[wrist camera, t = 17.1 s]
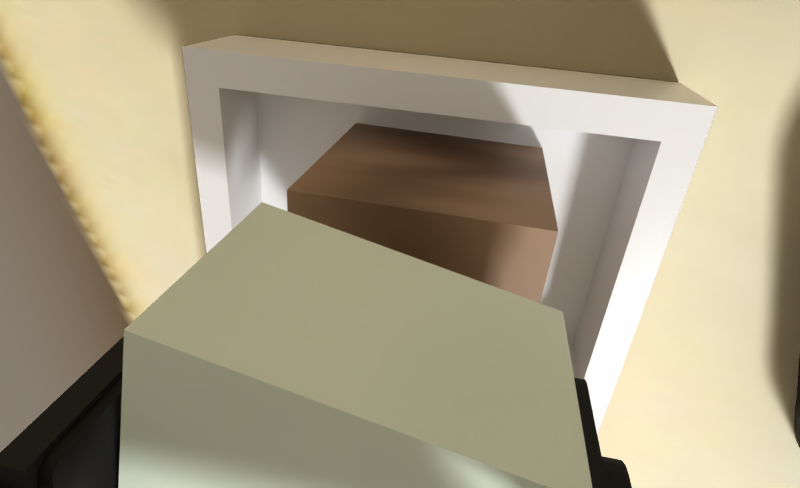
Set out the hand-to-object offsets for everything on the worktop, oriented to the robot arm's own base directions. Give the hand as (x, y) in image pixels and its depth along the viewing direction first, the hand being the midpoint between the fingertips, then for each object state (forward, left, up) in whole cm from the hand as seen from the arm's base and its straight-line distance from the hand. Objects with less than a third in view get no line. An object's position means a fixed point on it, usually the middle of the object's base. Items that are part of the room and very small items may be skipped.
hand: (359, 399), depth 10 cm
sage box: (0, 0, -1) cm, 1 cm away
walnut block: (-1, 0, -9) cm, 9 cm away
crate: (0, +5, -10) cm, 11 cm away
